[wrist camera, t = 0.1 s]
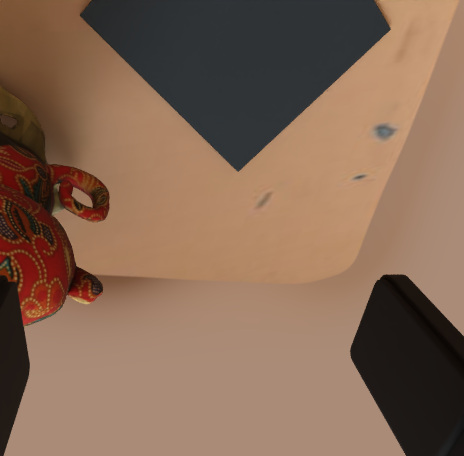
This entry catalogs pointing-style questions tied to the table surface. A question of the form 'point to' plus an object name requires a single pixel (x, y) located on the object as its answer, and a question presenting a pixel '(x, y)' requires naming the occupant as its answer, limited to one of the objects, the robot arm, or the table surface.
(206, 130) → the mat
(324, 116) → the table surface
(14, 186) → the stuffed monkey
